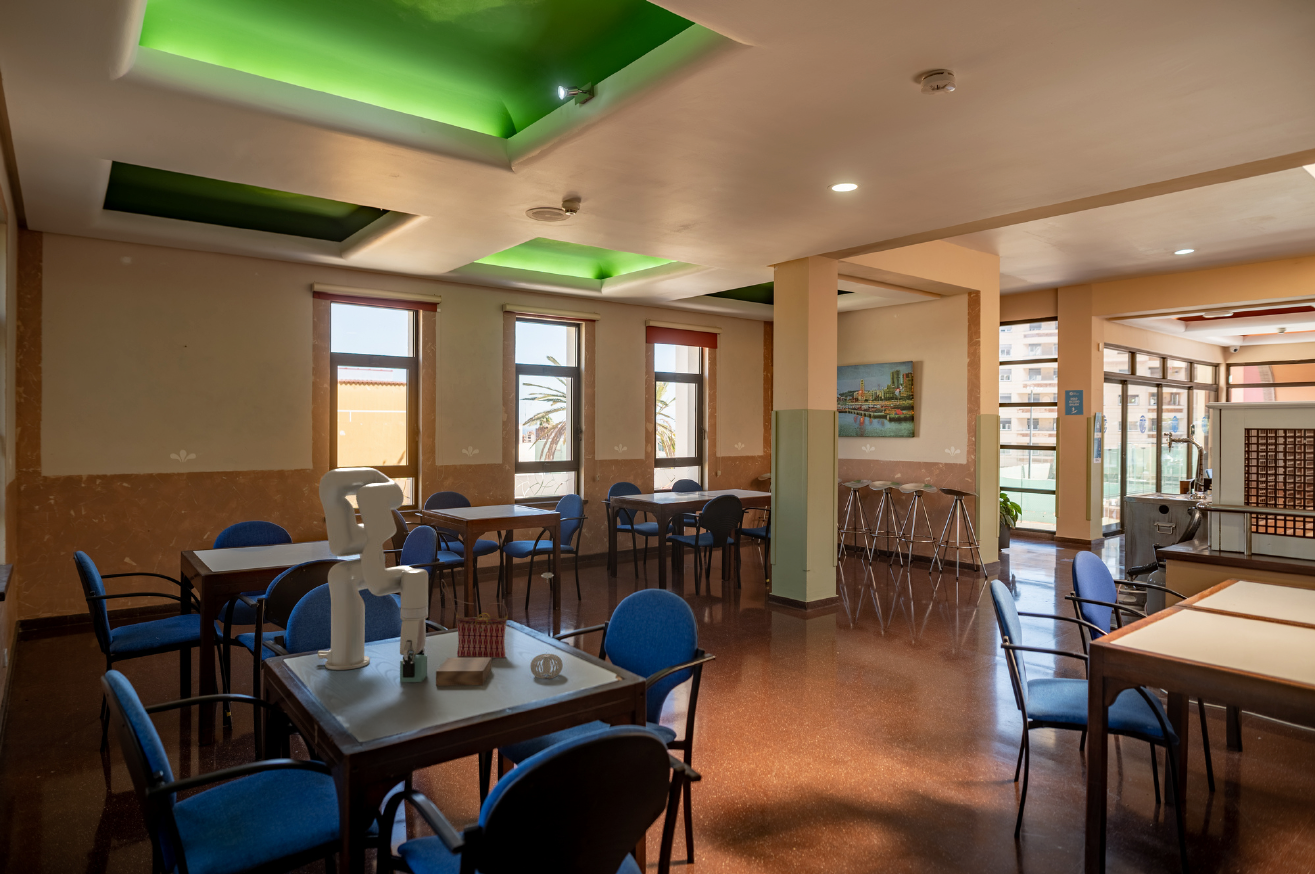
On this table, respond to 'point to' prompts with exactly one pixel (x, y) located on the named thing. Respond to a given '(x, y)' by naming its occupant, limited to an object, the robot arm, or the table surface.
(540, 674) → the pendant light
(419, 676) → the teal block
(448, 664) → the walnut plinth
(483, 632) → the handbag
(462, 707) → the table surface
